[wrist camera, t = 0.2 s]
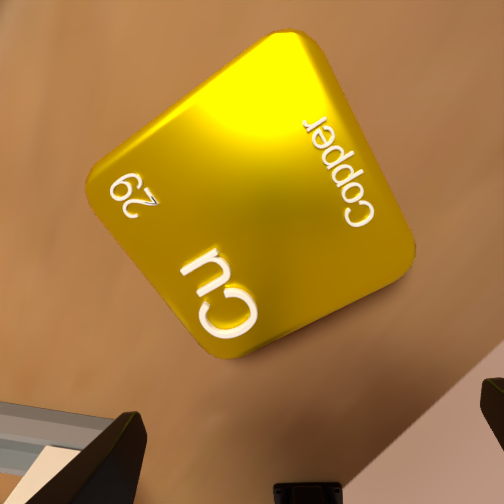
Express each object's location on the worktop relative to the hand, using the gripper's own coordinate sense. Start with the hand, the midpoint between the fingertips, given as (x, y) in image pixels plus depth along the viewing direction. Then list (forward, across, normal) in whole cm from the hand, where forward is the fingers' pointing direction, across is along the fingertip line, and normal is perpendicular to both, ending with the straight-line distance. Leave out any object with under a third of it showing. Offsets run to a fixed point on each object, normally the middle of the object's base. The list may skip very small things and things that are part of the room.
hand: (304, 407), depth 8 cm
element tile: (+15, +1, -2) cm, 16 cm away
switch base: (+15, +23, +16) cm, 32 cm away
